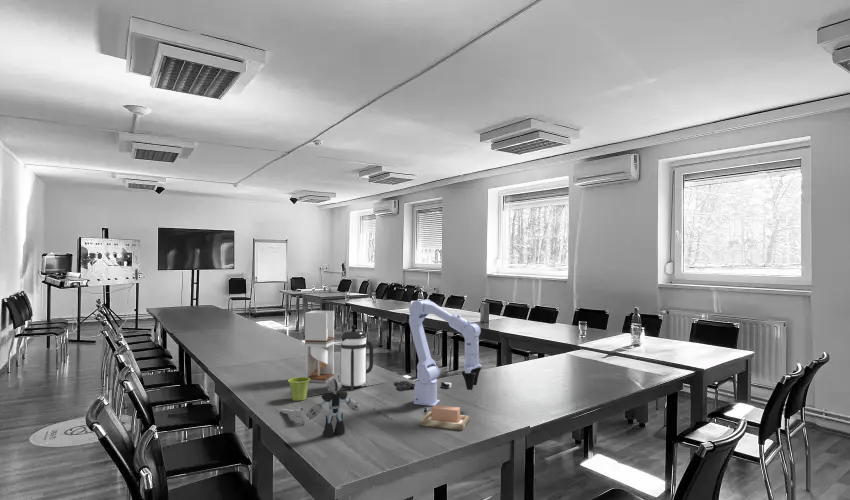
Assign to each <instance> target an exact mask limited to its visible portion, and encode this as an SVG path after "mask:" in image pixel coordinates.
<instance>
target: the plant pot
mask: <svg viewBox="0 0 850 500" xmlns="http://www.w3.org/2000/svg"><path fill="white" fill-rule="evenodd" d="M309 380H310V378H307V377H306V376H304V377H303V376H301V377H300V376H298V377H297V376H296V377H292V378H290V379H288V380H287V382H288V383H289V388H290V394H291V395H290V396H291V400H292V401H294V402H299V401H305V400H306V399H307V396H308V395H307V394H308V387H309V383H310V382H309Z"/></svg>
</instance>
